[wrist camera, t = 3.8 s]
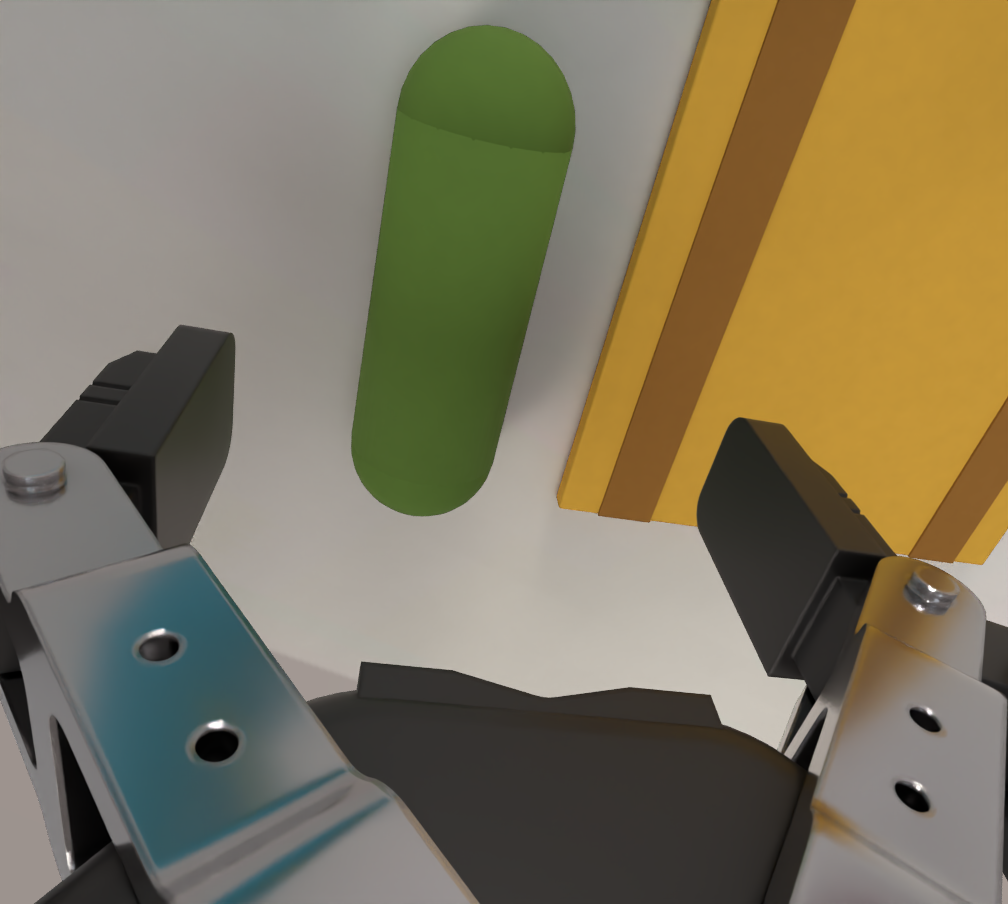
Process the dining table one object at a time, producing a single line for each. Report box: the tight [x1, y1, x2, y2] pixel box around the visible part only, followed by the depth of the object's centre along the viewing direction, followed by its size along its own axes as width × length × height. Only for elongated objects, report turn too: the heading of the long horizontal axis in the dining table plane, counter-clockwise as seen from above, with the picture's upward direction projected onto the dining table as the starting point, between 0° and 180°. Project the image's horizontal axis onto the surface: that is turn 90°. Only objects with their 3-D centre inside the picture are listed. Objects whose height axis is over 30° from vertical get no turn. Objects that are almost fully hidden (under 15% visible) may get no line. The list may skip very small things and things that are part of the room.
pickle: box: [351, 25, 575, 516], centre depth 17 cm, size 4×11×4 cm, turn 167°
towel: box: [557, 0, 1008, 565], centre depth 18 cm, size 14×22×1 cm, turn 167°
